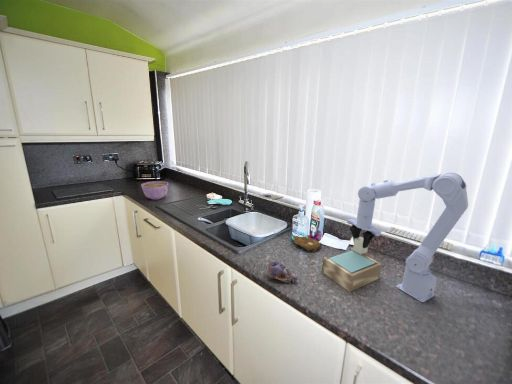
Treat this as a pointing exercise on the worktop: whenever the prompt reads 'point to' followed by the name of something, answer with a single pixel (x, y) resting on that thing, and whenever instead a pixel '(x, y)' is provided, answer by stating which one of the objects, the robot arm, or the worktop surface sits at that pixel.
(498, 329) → the worktop surface
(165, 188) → the bowl of food
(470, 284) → the worktop surface
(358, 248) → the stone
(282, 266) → the purple lumpy piece
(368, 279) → the trapdoor frame
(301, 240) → the decorative rock
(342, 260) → the trapdoor
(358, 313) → the worktop surface
